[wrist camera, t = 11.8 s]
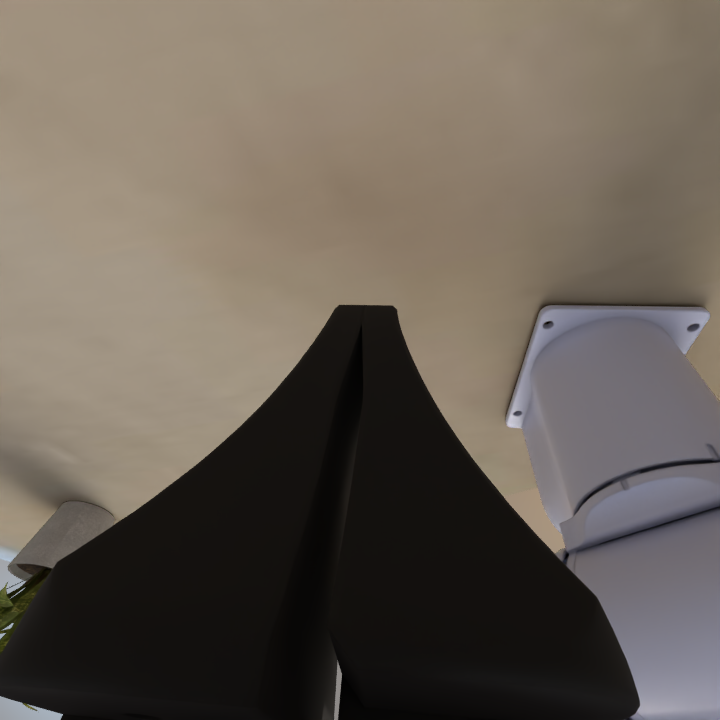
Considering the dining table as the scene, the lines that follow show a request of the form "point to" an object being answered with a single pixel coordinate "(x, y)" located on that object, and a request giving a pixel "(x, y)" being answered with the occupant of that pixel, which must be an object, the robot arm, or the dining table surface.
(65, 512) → the house plant
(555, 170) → the dining table surface
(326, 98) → the dining table surface
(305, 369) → the robot arm
